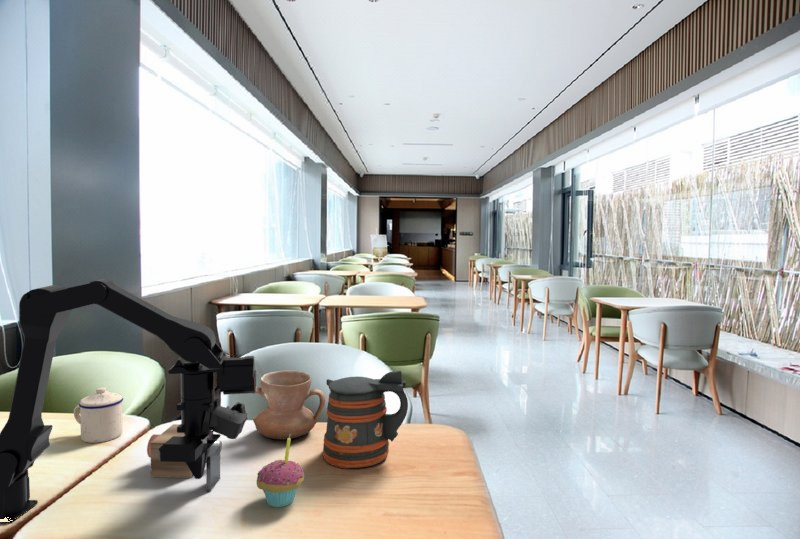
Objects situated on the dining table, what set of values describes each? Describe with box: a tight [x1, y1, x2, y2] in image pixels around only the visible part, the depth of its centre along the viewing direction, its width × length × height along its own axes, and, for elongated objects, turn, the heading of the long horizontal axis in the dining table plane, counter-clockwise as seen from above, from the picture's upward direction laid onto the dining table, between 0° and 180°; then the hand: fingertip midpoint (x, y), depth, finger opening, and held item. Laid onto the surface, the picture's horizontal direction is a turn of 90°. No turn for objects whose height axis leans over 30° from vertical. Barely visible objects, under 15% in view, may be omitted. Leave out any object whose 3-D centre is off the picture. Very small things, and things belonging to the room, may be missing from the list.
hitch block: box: [150, 423, 194, 479], centre depth 107 cm, size 10×8×7 cm
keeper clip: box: [205, 446, 221, 492], centre depth 99 cm, size 5×6×7 cm
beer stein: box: [322, 369, 409, 470], centre depth 113 cm, size 19×15×20 cm
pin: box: [146, 434, 223, 459], centre depth 107 cm, size 5×14×5 cm, turn 89°
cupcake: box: [256, 434, 305, 508], centre depth 93 cm, size 9×8×12 cm
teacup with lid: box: [73, 386, 124, 444], centre depth 122 cm, size 12×9×12 cm
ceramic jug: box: [251, 370, 326, 440], centre depth 125 cm, size 18×14×14 cm
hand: (198, 478), depth 95 cm, fingers closed
